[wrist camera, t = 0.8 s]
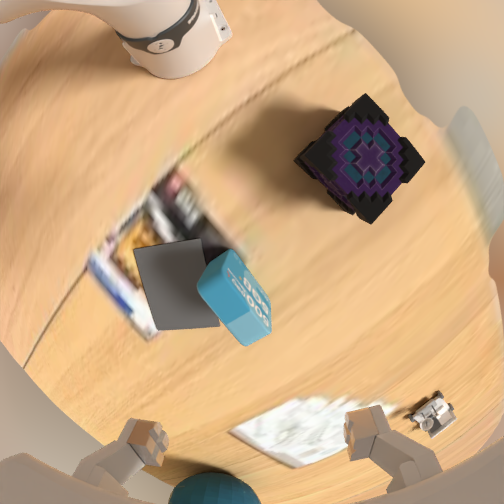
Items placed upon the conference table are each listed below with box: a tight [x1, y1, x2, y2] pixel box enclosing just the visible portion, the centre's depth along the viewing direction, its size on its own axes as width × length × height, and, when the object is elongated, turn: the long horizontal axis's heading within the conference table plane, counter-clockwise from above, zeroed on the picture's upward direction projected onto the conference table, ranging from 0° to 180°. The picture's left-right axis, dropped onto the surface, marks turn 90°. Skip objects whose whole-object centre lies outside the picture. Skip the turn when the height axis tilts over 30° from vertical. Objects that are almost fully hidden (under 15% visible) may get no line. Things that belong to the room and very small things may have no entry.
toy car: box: [408, 391, 457, 439], centre depth 53 cm, size 18×10×12 cm
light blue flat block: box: [197, 249, 272, 346], centre depth 42 cm, size 12×4×12 cm, turn 35°
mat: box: [134, 238, 220, 330], centre depth 48 cm, size 17×13×1 cm
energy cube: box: [293, 93, 425, 224], centre depth 35 cm, size 12×12×12 cm
